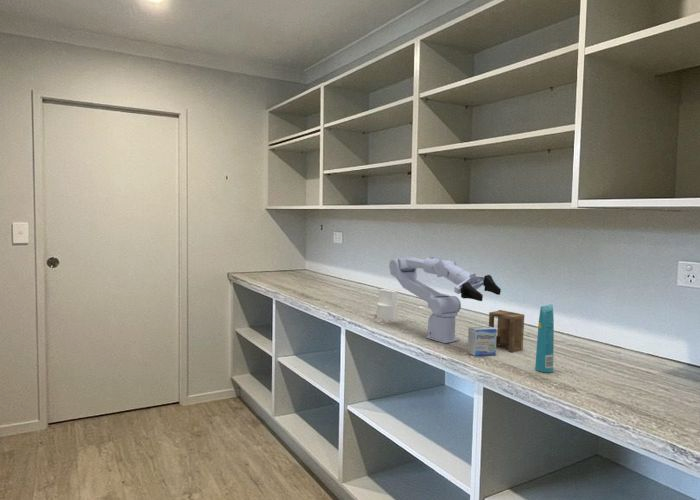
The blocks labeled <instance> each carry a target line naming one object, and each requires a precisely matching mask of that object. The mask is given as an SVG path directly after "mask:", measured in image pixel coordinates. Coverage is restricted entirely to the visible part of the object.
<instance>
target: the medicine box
mask: <svg viewBox="0 0 700 500" xmlns="http://www.w3.org/2000/svg"><path fill="white" fill-rule="evenodd" d="M496 336H497V328H496V327H494V328H493V327H489V326H473V327H471V326H470V327H468V337H467V353H468V354H469V355H471V356H473V357H475V356H476V357H485V356H489V357H490V356H496V354H497V346H496Z"/></svg>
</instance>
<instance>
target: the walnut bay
mask: <svg viewBox="0 0 700 500" xmlns="http://www.w3.org/2000/svg"><path fill="white" fill-rule="evenodd" d="M495 317H496V318H497V328H496V329H497V336H496V347H497V346H502V347H506V348H508V352H509V353H515V352H519V351H522V350H524V331H525V330H524V329H525V314H524V313H518V312H513V311H507V310H503V309H498V310H495V311H490V312H489V313H488V327H493V328H495Z"/></svg>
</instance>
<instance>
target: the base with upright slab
mask: <svg viewBox="0 0 700 500" xmlns="http://www.w3.org/2000/svg"><path fill="white" fill-rule="evenodd" d="M398 308H399V304H398V290H392V289H387V288H379V289H378V302H377V304H376V318H377V319H378V318H379V320H383V319H384V320H386V321H391V320H397V319H398V316H399V315H398V314H399V313H398V311H399V309H398ZM384 320H383V321H384Z"/></svg>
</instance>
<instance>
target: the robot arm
mask: <svg viewBox="0 0 700 500" xmlns="http://www.w3.org/2000/svg"><path fill="white" fill-rule="evenodd" d="M388 269H389V272H390V275H391V276H392V277H394V278H395V279H396V280H397V282H399V284H400V286H401V287H402V288H403V289H405V290H407V291H408V292H410V293H411V294H413V295H415V296H416V297H418V298H420V299H421V300H423V301H424V302H425V303H427V308H428V309H430V310H431V312H432V313H431V314H430V316H429V317H428V322H427V335H426V336H425V338H426V339H429V340H433V341H436V342H439V343H444V344H448V343H453V342H458V341H460V340H461V339H460V338H458V337H455V336H456V319H457V318H456V316H458V313H459V312H460V310H461V307H462V303H461V300H460V298H462V299H470V300H475V301H478V302H483V298H484V297H483V296H484V295H483V294H482V292H480V291H478V289H479V288H481V287H482V286H483V287H484V292H489V293H493V294H494V295H498V296H499V295H501V292H502V289H501V287H499V286H498V285H497V283H496V282H495V281H494V279H493V277H492V275H491V274H487V275H484V276H483V275H476V272H469V271H468V270H465V269H464V268H462V267H460V266H458V265H457V263H456V261H454V260H452V259H447V260H444V259H443V258H436V257H435V256H429V257H427V258H425V259H421V258H418V257H399V258H398V257H397V258H394V257H393V258H392V259H391V260H389V264H388ZM417 269H423V271H424V272H425V273H427V274H432V275H436V277H438V278H443V277H444V278H445V279H447V280H448V281H450V282H452V283H453V284H455V286H454V291H453V292H454V293H456V294H457V295H459V294H460V298H459V297H458V296H456V295H450V294H447V293H442V292H438V290H436V289H434V288H432V287H430V286H429V285H426V284H425V283H423V282H421V281H420V280H418V279H417V277H418V273H417Z"/></svg>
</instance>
